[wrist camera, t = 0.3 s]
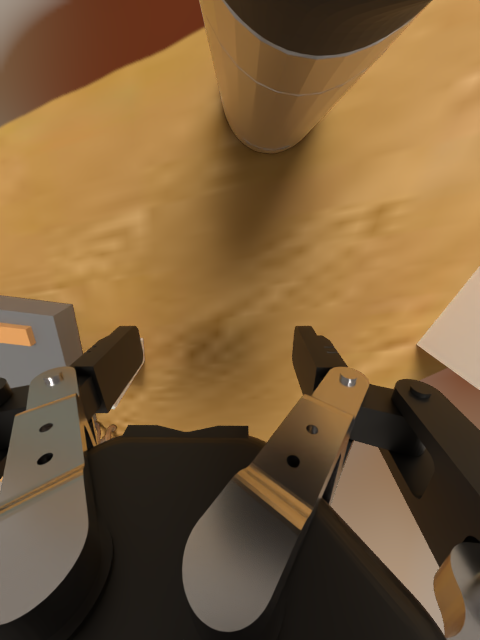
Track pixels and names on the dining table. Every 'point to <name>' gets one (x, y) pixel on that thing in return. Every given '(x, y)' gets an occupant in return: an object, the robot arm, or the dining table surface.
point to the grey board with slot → (36, 338)
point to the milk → (458, 333)
